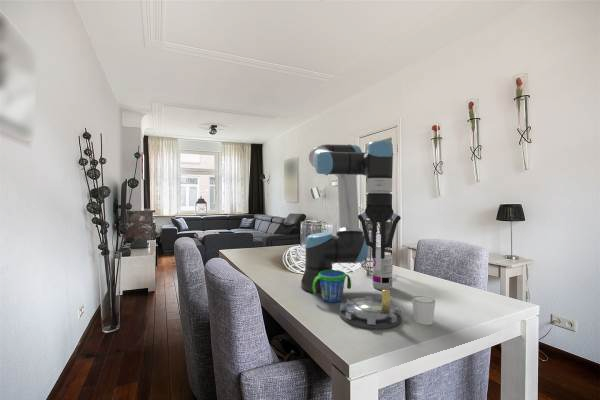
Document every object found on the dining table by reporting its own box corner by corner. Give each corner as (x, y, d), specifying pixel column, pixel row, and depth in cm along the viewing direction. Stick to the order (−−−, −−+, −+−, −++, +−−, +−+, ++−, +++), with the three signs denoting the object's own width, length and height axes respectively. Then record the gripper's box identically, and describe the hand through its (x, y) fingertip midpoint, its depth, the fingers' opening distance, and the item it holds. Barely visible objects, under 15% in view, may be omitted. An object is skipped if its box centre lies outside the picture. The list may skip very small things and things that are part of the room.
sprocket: (372, 330, 86) (372, 299, 85) (328, 308, 102) (328, 282, 102) (413, 315, 97) (414, 287, 97) (367, 297, 113) (368, 274, 113)
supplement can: (371, 289, 128) (371, 254, 127) (374, 283, 135) (374, 250, 135) (391, 291, 125) (391, 255, 124) (392, 286, 132) (393, 252, 132)
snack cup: (316, 306, 108) (316, 278, 107) (308, 296, 118) (308, 270, 118) (356, 302, 111) (356, 275, 111) (345, 293, 122) (345, 268, 121)
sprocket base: (329, 320, 95) (329, 317, 95) (351, 301, 113) (351, 298, 113) (394, 335, 86) (394, 332, 86) (406, 311, 103) (406, 308, 103)
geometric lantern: (393, 272, 156) (395, 205, 154) (389, 280, 142) (391, 207, 140) (363, 268, 163) (364, 204, 161) (356, 276, 148) (358, 205, 147)
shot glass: (437, 326, 92) (437, 304, 92) (413, 324, 93) (414, 302, 93) (432, 317, 98) (432, 296, 98) (410, 315, 100) (410, 294, 100)
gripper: (357, 192, 90) (355, 270, 90) (402, 192, 87) (401, 273, 87) (358, 192, 97) (357, 264, 98) (400, 192, 94) (399, 267, 95)
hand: (378, 268), depth 93 cm, fingers closed
